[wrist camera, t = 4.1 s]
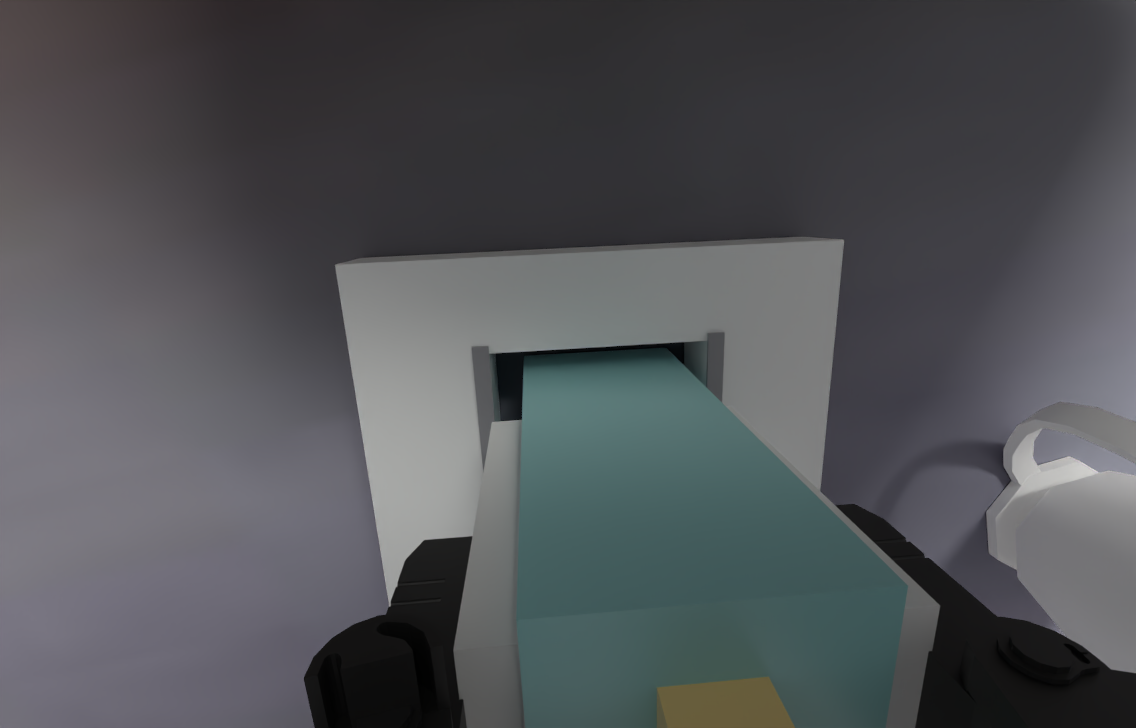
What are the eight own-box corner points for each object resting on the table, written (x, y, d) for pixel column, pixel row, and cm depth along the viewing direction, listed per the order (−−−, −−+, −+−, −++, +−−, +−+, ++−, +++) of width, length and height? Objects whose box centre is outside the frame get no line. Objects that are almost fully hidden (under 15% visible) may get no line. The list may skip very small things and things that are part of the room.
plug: (523, 355, 15) (511, 791, 4) (665, 347, 15) (1057, 731, 4) (532, 484, 16) (543, 1118, 5) (664, 475, 16) (966, 1057, 5)
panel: (360, 257, 14) (333, 265, 12) (803, 236, 15) (846, 239, 13) (447, 853, 20) (438, 925, 18) (759, 817, 21) (784, 882, 19)
